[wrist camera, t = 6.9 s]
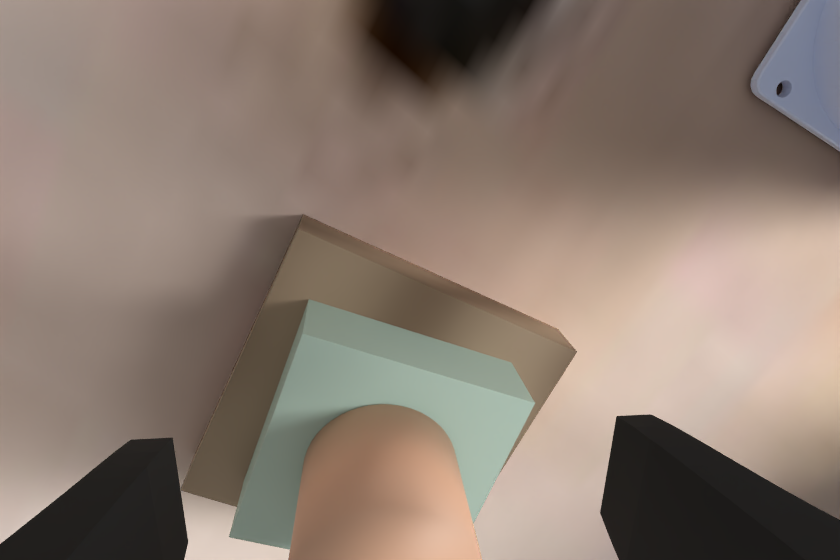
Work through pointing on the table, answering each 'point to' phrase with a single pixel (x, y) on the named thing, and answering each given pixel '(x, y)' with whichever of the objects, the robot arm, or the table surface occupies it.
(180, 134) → the table surface
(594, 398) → the table surface
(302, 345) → the sage slab
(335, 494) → the terracotta capsule
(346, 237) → the walnut slab
